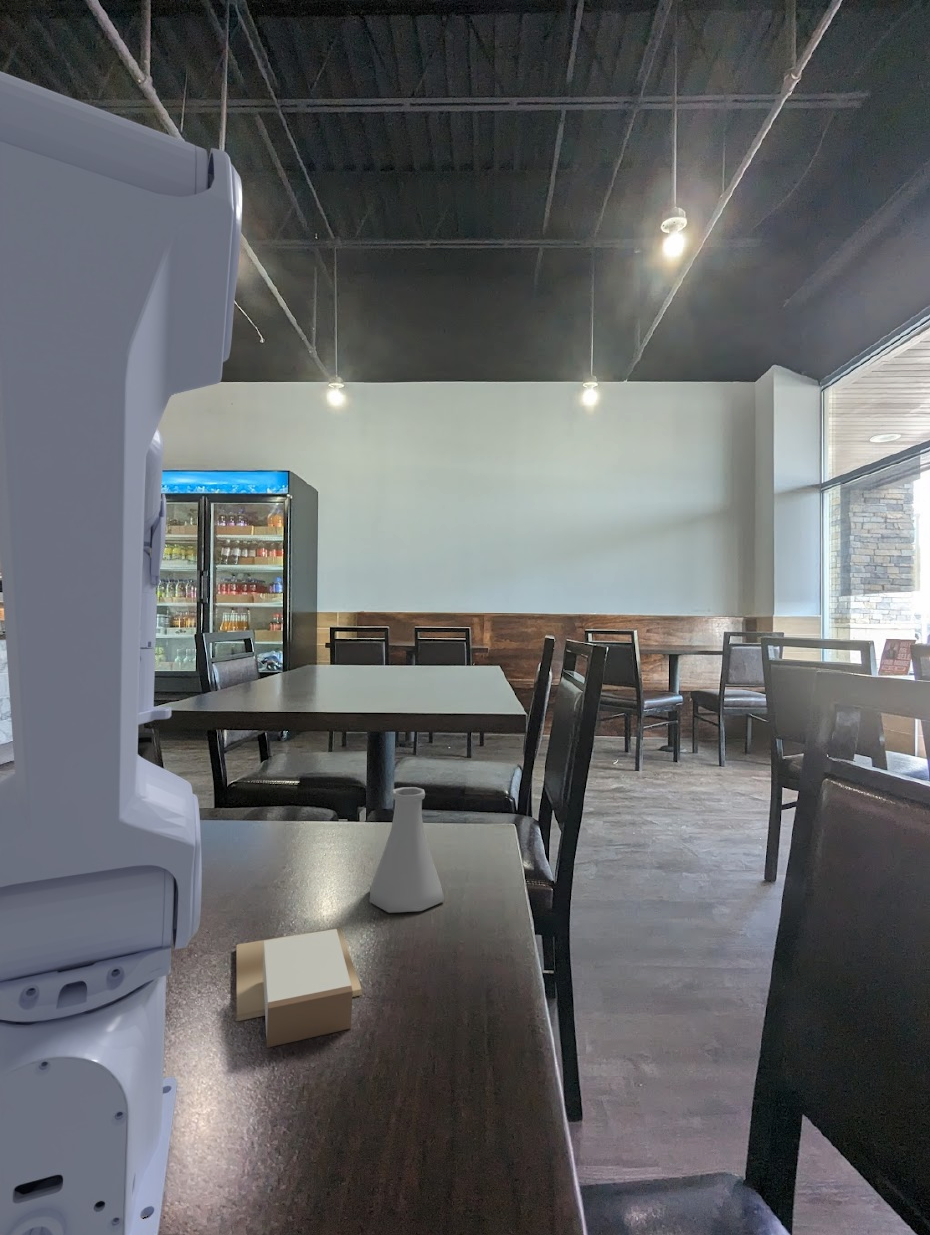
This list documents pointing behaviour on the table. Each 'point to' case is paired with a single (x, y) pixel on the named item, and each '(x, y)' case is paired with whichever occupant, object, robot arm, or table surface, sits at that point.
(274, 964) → the cream slab
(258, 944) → the cork mat
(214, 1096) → the table surface
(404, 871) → the flask
